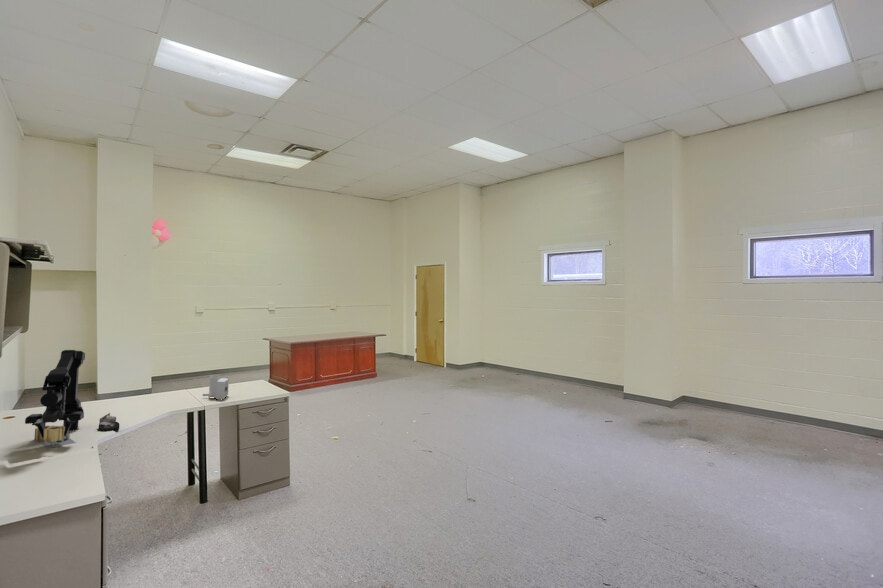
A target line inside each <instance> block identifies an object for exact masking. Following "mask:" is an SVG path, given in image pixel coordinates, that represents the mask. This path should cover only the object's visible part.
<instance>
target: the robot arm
mask: <svg viewBox="0 0 883 588" xmlns="http://www.w3.org/2000/svg"><path fill="white" fill-rule="evenodd" d="M85 359H86V353H85V352H84V351H83V350H76V349H64V350H62V351H61V352H60V358H59V360H58V363H57V365H56V367H55V368H53V369H51V370H50V371H49V372H48V374H47V375H46V376H45V379H44V382H43V385H42V391H46V392H45V394H44V395H42V396H41V398H40V400H39V401H40V404H41V405H42V406H43V407H46V408H45V411H43V413H32V414H30V415H28V416H27V417H25V419H24V424H25V425H27V424H31V426H34V427H36V428H38V429H39V431H40V433H41V436H42V438H44V429H45V426H46V424H47V423H52V424H53V423H56V422H58V421H63V423H62V426H64V427H65V431H64V437H65V436H66V435H67V433H69V431H74V430H78V429H79V421H81V420H83V419H85V418H84V417H85V412H84V409H83V406H82V402H81V401H80V399H79V398H78V390H79V388H78V387H79V374H80V372H79V370H80V367H81V366H82V365H83V364H84V361H85Z"/></svg>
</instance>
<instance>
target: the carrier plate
mask: <svg viewBox="0 0 883 588" xmlns="http://www.w3.org/2000/svg"><path fill="white" fill-rule="evenodd" d="M37 443H39V444H41V445H42V446H43V447H44V448H46V449H50V448H55V447H60V446H67V445H72V444H77V442H76V441H74V440H73V439H72V438H71V437H70V438H69V440H65V441H62V442H61V441H60V442H57V441H54V442H51V441H50V442H45V441H37Z"/></svg>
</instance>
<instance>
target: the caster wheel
mask: <svg viewBox="0 0 883 588" xmlns="http://www.w3.org/2000/svg"><path fill="white" fill-rule="evenodd" d="M119 430H120V423H119V422H118V421H117V417H116V416H113V415H111V413H110V412H109V413H107V414H105V415H103V416H102V417H101V418H99V423H98V432H112V431H113V432H115V433H117V432H118V431H119Z"/></svg>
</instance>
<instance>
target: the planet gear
mask: <svg viewBox="0 0 883 588" xmlns="http://www.w3.org/2000/svg"><path fill="white" fill-rule="evenodd" d="M53 426H54V427H47V428H46V429H44V439H43V441H45V442H50V441H51V442H54V441H60V440H62V439H65V437H64V431H65V427H64V426H63V425H53Z"/></svg>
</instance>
